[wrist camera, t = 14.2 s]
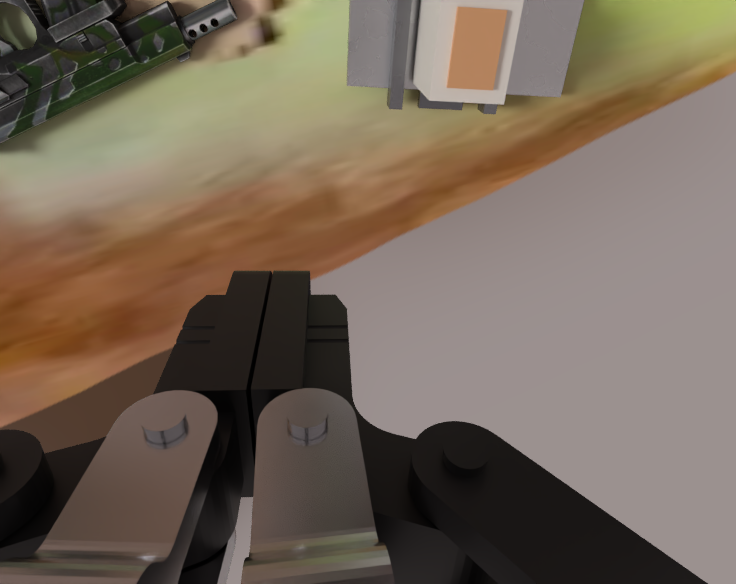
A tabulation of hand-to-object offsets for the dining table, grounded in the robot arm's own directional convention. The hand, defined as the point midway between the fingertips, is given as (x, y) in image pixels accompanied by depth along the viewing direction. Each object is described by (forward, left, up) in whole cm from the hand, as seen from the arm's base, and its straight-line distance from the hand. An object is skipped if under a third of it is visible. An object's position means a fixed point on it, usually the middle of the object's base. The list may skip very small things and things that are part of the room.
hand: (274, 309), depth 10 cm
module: (-4, +8, -24) cm, 26 cm away
